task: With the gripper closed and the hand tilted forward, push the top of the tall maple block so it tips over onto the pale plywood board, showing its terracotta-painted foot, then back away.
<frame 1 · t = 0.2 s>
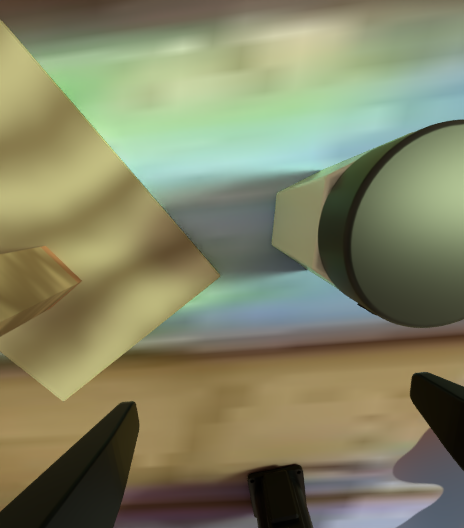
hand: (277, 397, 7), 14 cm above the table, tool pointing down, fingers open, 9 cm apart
block: (47, 278, 19), point 1 cm above the table, touching board
jar: (314, 222, 21), on the table
board: (41, 243, 19), on the table
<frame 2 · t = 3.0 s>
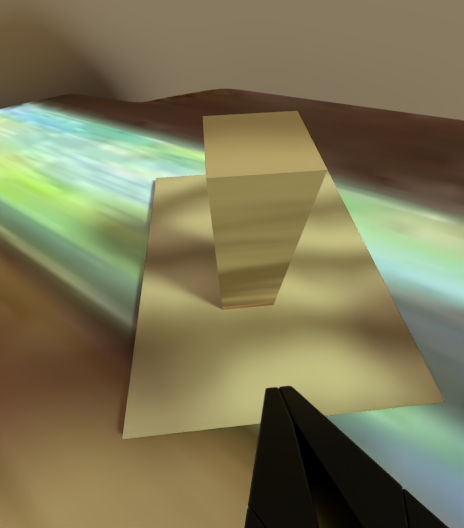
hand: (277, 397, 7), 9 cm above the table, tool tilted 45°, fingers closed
block: (245, 284, 19), point 1 cm above the table, touching board
board: (257, 260, 20), on the table
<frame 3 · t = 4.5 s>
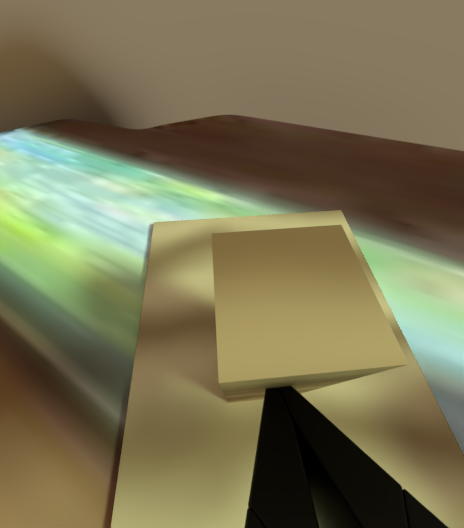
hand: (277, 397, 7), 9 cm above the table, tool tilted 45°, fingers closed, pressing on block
block: (254, 366, 16), point 1 cm above the table, touching board, gripper
board: (268, 330, 18), on the table
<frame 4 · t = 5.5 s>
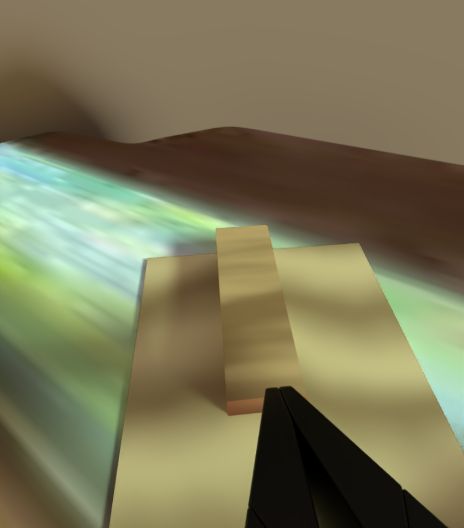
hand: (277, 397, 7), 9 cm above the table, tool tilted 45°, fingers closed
block: (263, 411, 13), point 3 cm above the table, tilted 90°, touching board
board: (280, 399, 15), on the table
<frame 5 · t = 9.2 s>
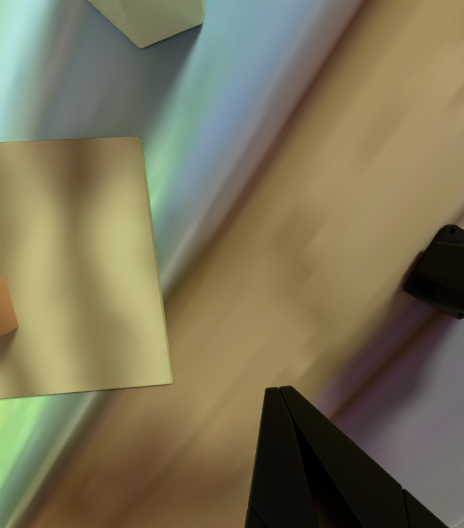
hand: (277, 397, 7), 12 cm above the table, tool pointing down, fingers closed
board: (7, 283, 18), on the table
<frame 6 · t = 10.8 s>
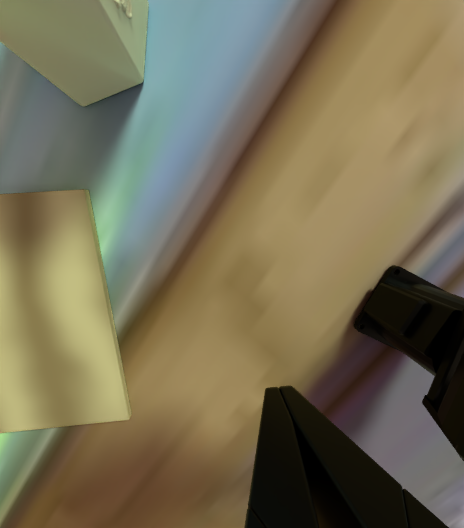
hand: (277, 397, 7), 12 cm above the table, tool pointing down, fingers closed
jar: (87, 34, 15), on the table
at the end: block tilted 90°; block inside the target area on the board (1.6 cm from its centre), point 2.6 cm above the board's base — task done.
